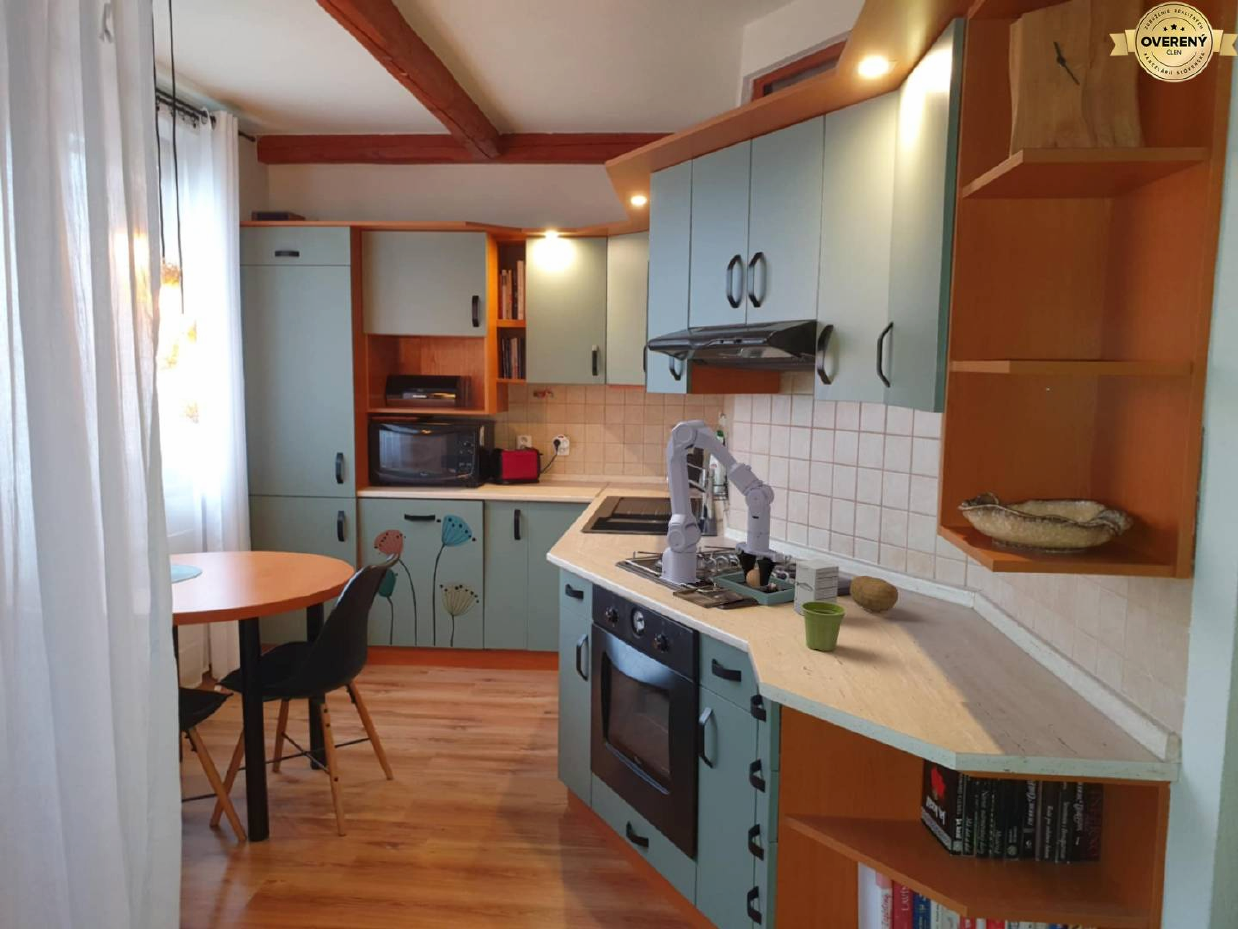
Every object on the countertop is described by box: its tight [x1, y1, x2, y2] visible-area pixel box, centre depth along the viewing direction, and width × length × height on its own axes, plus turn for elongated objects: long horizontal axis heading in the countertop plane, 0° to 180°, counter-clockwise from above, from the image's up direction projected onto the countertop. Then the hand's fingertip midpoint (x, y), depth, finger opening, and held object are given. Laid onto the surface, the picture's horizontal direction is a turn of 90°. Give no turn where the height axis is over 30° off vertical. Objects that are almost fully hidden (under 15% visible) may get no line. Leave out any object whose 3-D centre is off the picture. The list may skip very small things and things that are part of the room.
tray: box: [712, 571, 795, 607], centre depth 215 cm, size 20×14×3 cm
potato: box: [849, 575, 899, 613], centre depth 203 cm, size 10×14×8 cm
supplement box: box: [793, 558, 840, 616], centre depth 198 cm, size 7×7×13 cm
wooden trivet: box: [672, 584, 736, 609], centre depth 209 cm, size 13×13×1 cm
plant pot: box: [801, 601, 847, 652], centre depth 176 cm, size 9×9×9 cm
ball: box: [746, 568, 763, 589], centre depth 214 cm, size 5×5×5 cm
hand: (756, 583), depth 214 cm, fingers closed on ball, 5 cm apart
